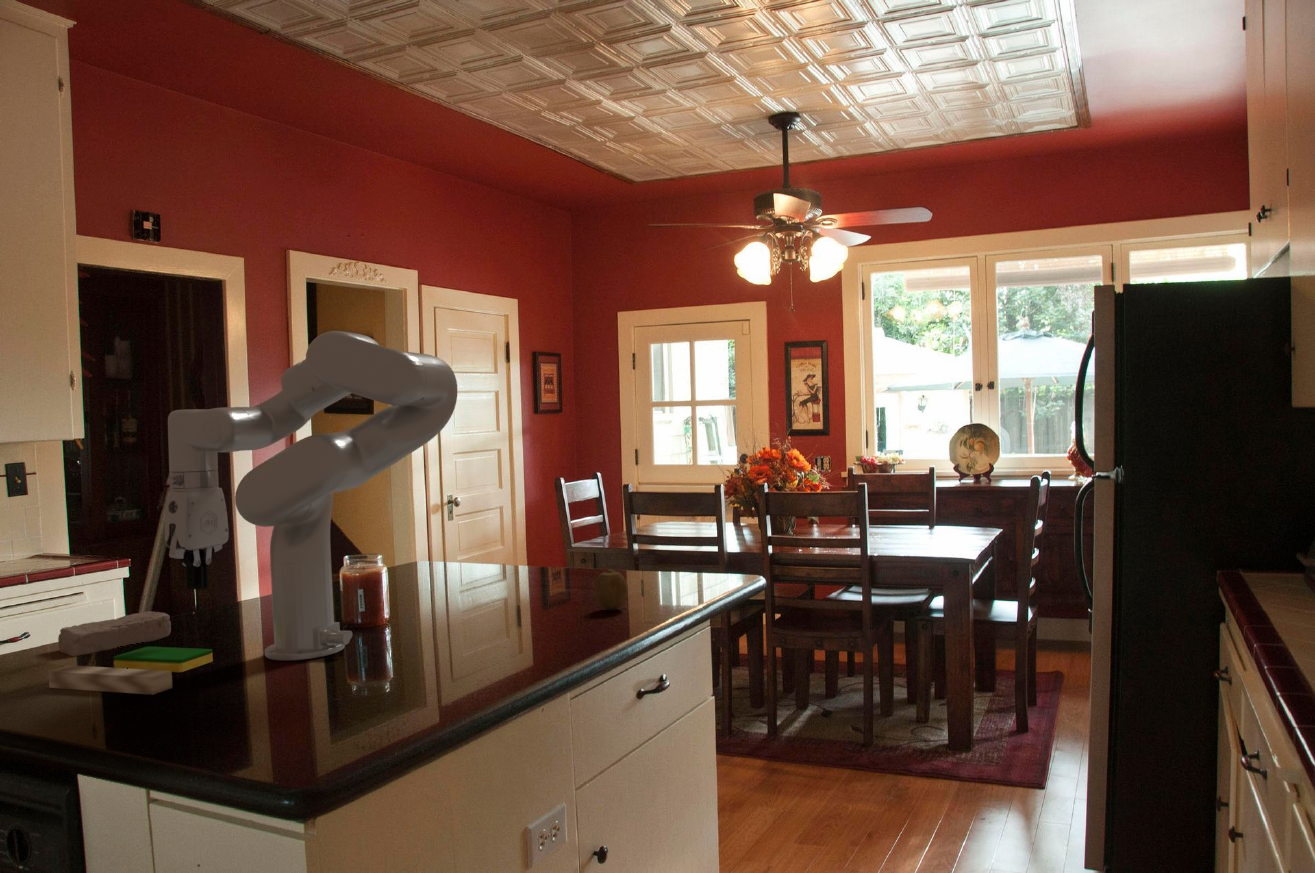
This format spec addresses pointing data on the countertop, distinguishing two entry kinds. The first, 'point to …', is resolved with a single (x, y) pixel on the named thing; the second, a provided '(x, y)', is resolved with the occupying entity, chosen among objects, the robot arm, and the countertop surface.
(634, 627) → the countertop surface
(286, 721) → the countertop surface
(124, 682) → the batten
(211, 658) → the dish sponge
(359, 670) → the countertop surface
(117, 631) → the brick
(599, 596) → the fruit
